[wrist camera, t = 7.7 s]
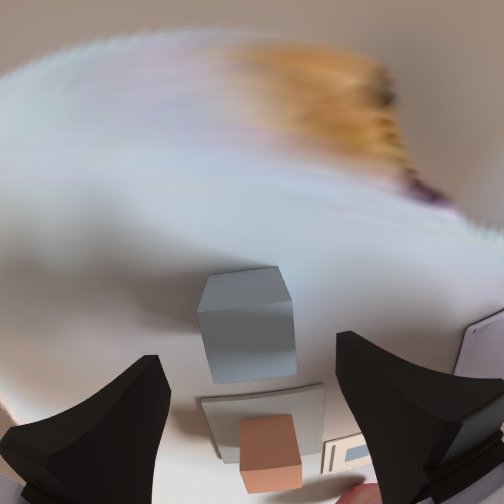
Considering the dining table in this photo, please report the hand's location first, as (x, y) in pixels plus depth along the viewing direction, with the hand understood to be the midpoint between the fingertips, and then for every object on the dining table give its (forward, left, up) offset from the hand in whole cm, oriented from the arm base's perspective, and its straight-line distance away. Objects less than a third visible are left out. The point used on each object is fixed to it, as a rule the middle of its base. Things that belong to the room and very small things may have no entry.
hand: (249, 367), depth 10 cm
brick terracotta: (0, +12, -6) cm, 13 cm away
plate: (0, +12, -7) cm, 14 cm away
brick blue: (0, 0, -7) cm, 7 cm away
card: (-10, +19, -7) cm, 22 cm away
